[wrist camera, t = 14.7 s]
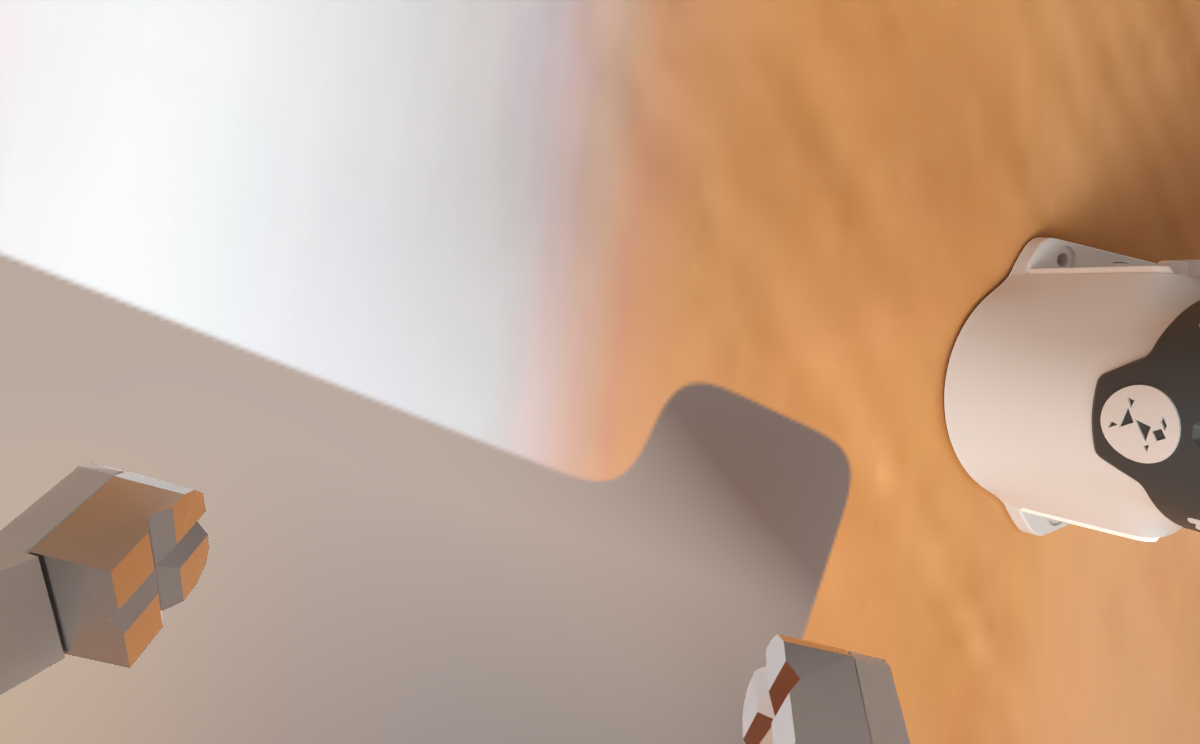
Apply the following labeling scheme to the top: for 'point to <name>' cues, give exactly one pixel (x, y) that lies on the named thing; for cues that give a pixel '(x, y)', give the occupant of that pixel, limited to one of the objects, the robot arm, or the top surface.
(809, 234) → the top surface
